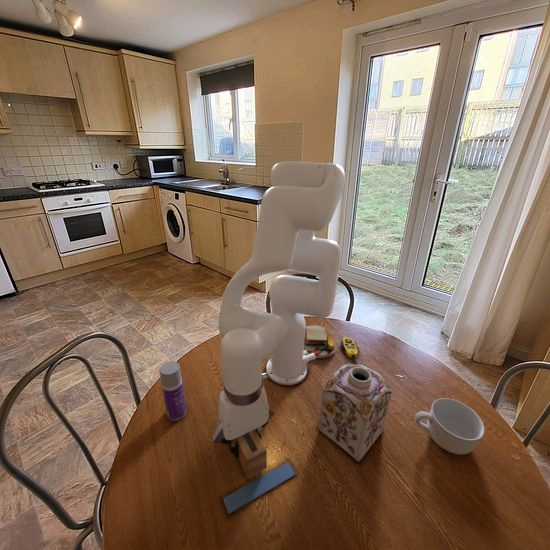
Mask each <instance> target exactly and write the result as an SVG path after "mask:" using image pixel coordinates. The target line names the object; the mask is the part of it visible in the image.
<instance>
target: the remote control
mask: <svg viewBox="0 0 550 550" xmlns="http://www.w3.org/2000/svg"><path fill="white" fill-rule="evenodd" d="M341 348H342V351H343V353H344V354H345V355H346V356H347V357H348V358H351V359H352V360H353V362H354V365H358V362H357V361H356V358H357V357H358V353H359V347H358V345H357V343H356V342H355V341H354V340H353V338H352V337H342V341H341Z"/></svg>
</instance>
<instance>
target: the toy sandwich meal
mask: <svg viewBox="0 0 550 550" xmlns="http://www.w3.org/2000/svg"><path fill="white" fill-rule="evenodd" d="M326 332H327V329H326V327H325V326H322V325H306V327H305V340H304V351H305V350H306V351H307V355H309V354H312V353H314V354H315V356H316V358H315V359H326V358H328V357H331V356H332V355H333V354H334V353H336V351H337V345H336V342H335V341H334V337H333V333H332V332H328V335H327V333H326ZM307 355H306V356H307Z"/></svg>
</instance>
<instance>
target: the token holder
mask: <svg viewBox="0 0 550 550" xmlns="http://www.w3.org/2000/svg"><path fill="white" fill-rule="evenodd" d="M237 444H238V448H239V457H238V458H237V459H238V460H239V462H240V464H241V467H242V469H243V471H244V473H245V476H246V478H247V479H250V478H252V477H253V476H255V475H257V474H259V473H261V472H262V471H264V470H267V467H268V465H267V456H268V454H267V453H268V450H267V448H266V446H265V444H264V443H263V440H262V438H261V439H260V437H259V435H258V433H257V432H256V430H255V429H254V430H252V431H250V432H248V433H246V434H244V435H242V436H239V437H238V438H237Z"/></svg>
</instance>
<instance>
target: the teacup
mask: <svg viewBox="0 0 550 550" xmlns="http://www.w3.org/2000/svg"><path fill="white" fill-rule="evenodd" d="M422 419H426V423H424V422H423V421H421V420H422ZM414 420H415V423H416V425H417V426H418V427H419V428H421V429H422V430H424V431H425V433H428V434H429V436H430V437H431V439H432V441H434V443H435V444H436V445H437V446H439V447H440V448H441V449H443V450H445V451H447V452H449V453H451V454H454V455H467V454H469V453H471V452H472V451H473V450H475V449H476V447H477V445H479V443H480V441H481V439H482V438H483V437H484V435H485V432H486V431H485V425H484V422H483V420H482V419H481V417H480V416H479V415H478V413H477V412H476V411H475V410H474V409H472V408H471V407H470V406H469V405H467V404H465V403H463V402H461V401H459V400H457V399H454V398H449V397H441V398H436V399H435V400H434V401H433V402H432V404H431V407H430V410H429V411H419V412H417V413H416V414H415V416H414Z"/></svg>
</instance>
